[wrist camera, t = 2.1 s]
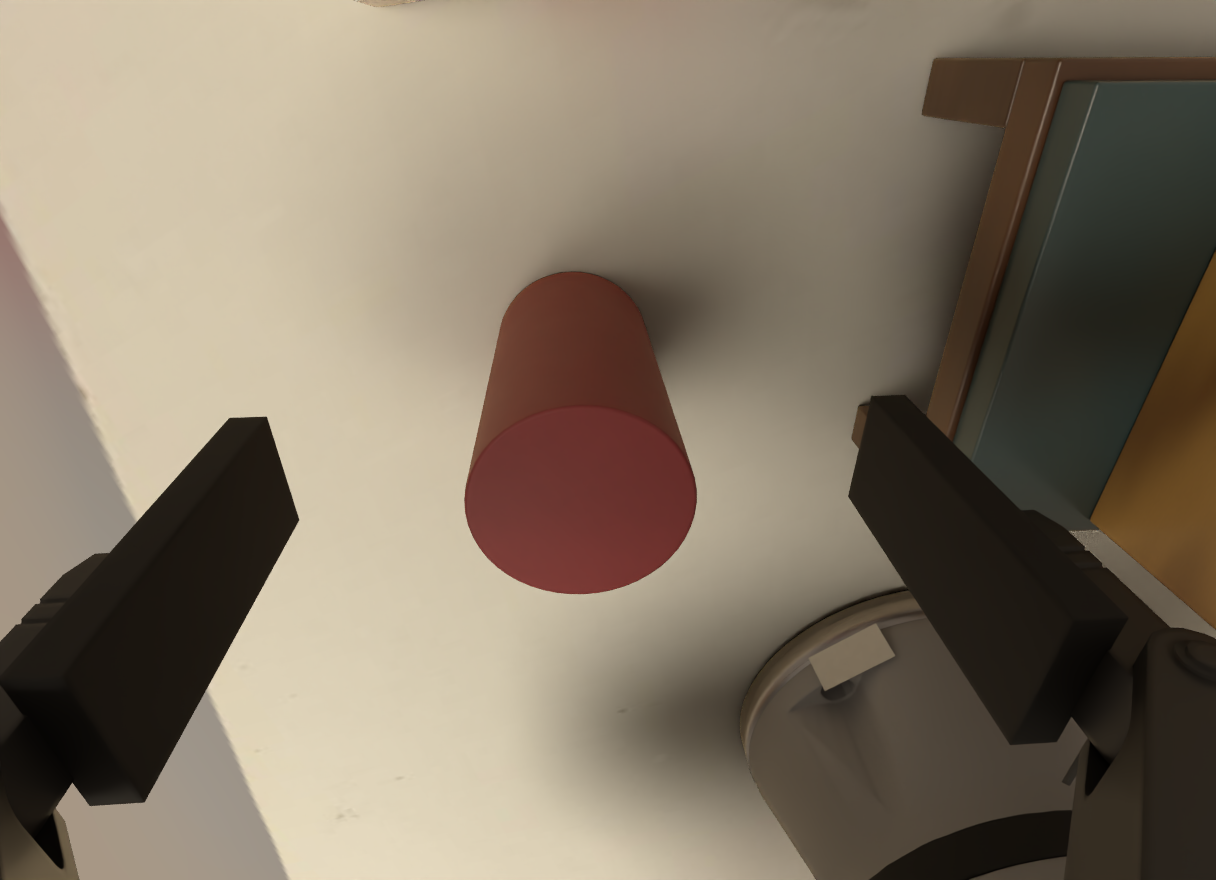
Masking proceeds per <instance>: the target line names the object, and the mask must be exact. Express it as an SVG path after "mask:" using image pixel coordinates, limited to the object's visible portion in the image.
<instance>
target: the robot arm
mask: <svg viewBox="0 0 1216 880" xmlns="http://www.w3.org/2000/svg"><path fill="white" fill-rule="evenodd" d="M848 497H849V498H850V500H851V502H852V503H853V505H854V506H855V508H856V509H857V511H858V512H859V514H860V515H861V517H862V518H863V520H864V522H865V523H866V525H867V526H868V528H869V529H870V531H871V532H872V534H873V535H874V537H875V538H876V540H877V541H878V543H879V545H880V546H881V548H882V549H883V551H884V552H885V554H886V555H887V557H888V558H889V560H890V561H891V563H892V565H893V566H894V568H895V569H896V571H897V572H898V574H899V575H900V577H901V578H902V580H903V581H904V583H905V585H906V586H907V588H908V589H909V591H904V592H898V593H894V594H890V595H885V596H881V597H878V598H875V599H871V600H868V601H865V602H862V603H860V604H857V605H854V606H852V607H849V608H847V609H844V610H842V611H840V612H838V613H835V614H833V615H831V616H829V617H828V618H826V619H824V620H822V621H820V622H818V623H816V624H815V625H813V626H812V627H810V628H808V629H807V630H805V631H804V632H802V633H801V634H799V635H798V636H797V637H795V638H794V639H793V640H791V641H790V642H789V643H788V644H786V645H785V646H784V647H783V648H782V649H781V650H779V651H778V652H777V653H776V654H775V655H774V656H773V657H772V658H771V659H770V660H769V661H768V662H767V664H766V665H765V666H764V667H763V669H762V670H761V671H760V672H759V674H758V675H757V677H756V678H755V680H754V681H753V683H752V684H751V686H750V688H749V690H748V692H747V694H746V697H745V699H744V702H743V705H742V710H741V714H740V735H741V739H742V744H743V747H744V751H745V755H746V758H747V762H748V766H749V770H750V773H751V775H752V777H753V780H754V782H755V783H756V785H757V787H758V789H759V791H760V793H761V795H762V797H763V798H764V800H765V801H766V803H767V805H768V806H769V808H770V809H771V811H772V812H773V814H774V815H775V817H776V818H777V820H778V822H779V823H780V825H781V826H782V828H783V829H784V831H785V832H786V834H787V835H788V837H789V839H790V840H791V842H792V843H793V845H794V846H795V848H796V849H797V851H798V852H799V854H800V856H801V857H802V859H803V860H804V862H805V863H806V865H807V866H808V868H809V869H810V871H811V873H812V874H813V876H814V877H815V879H816V880H1216V639H1215V638H1213V637H1210V636H1208V635H1206V634H1203V633H1199V632H1195V631H1192V630H1188V629H1184V628H1170V627H1169V626H1168V625H1167V624H1166V623H1165V622H1164V621H1163V620H1162V619H1161V618H1160V617H1159V616H1158V615H1156V614H1155V613H1154V612H1153V611H1152V610H1151V609H1150V608H1149V607H1148V606H1147V605H1146V604H1145V603H1144V602H1143V601H1142V600H1141V599H1139V598H1138V597H1137V596H1136V595H1135V594H1134V593H1133V592H1132V591H1131V590H1130V589H1129V588H1128V587H1127V586H1126V585H1125V584H1124V583H1123V582H1121V581H1120V580H1119V579H1118V578H1117V577H1116V576H1115V575H1114V574H1113V573H1112V572H1111V571H1110V570H1109V569H1108V568H1103V567H1102V563H1101V562H1100V561H1099V560H1098V559H1097V558H1096V557H1095V556H1094V555H1093V554H1092V553H1091V552H1090V551H1085V549H1084V548H1085V547H1084V546H1083V545H1082V544H1081V543H1080V542H1079V541H1078V540H1077V539H1076V538H1075V537H1074V536H1073V535H1072V534H1071V533H1069V532H1068V531H1067V530H1066V529H1065V528H1064V527H1063V526H1061V525H1060V524H1058V523H1056V522H1054V521H1053V520H1051V519H1049V518H1048V517H1046V516H1044V515H1042V514H1041V513H1039V512H1037V511H1036V510H1020V509H1019V508H1018V507H1017V506H1016V505H1015V504H1014V503H1013V502H1012V501H1011V500H1010V499H1009V498H1008V497H1007V496H1006V495H1005V494H1004V493H1003V492H1002V491H1001V490H1000V489H999V488H998V487H997V486H996V485H995V484H994V483H993V482H992V481H991V480H990V479H989V478H988V477H987V476H986V475H985V474H984V473H983V472H982V471H981V470H980V469H979V468H978V467H977V466H976V465H975V464H974V463H973V462H972V461H971V460H970V459H969V458H968V457H967V456H966V455H965V454H964V453H963V452H962V451H961V450H960V449H959V448H958V447H957V446H956V445H955V444H954V443H953V442H952V441H951V440H950V439H949V438H948V437H947V436H946V435H945V434H944V433H943V432H942V431H941V430H940V429H939V428H938V427H937V426H936V425H935V424H934V423H933V422H932V421H931V420H930V419H929V418H928V417H927V416H926V415H925V414H924V413H923V412H922V411H921V410H920V409H919V408H918V407H917V406H916V405H915V404H913V403H912V402H911V401H910V400H909V399H908V398H907V397H906V396H905V395H889V396H871V400H870V405H869V409H868V413H867V418H866V422H865V426H864V430H863V435H862V439H861V443H860V448H859V452H858V456H857V460H856V465H855V469H854V473H853V478H852V482H851V486H850V491H849V495H848ZM298 521H299V518H298V514H297V511H296V508H295V505H294V502H293V499H292V495H291V492H290V489H289V486H288V483H287V479H286V476H285V473H284V470H283V467H282V464H281V460H280V457H279V454H278V451H277V448H276V445H275V441H274V438H273V435H272V432H271V429H270V426H269V422H268V419H267V417H245V418H229V419H228V420H227V421H226V422H225V424H224V425H223V426H222V427H221V428H220V429H219V430H218V431H217V433H216V434H215V435H214V436H213V437H212V438H211V439H210V440H209V442H208V443H207V444H206V445H205V446H204V447H203V448H202V449H201V451H200V452H199V453H198V454H197V455H196V456H195V457H194V458H193V460H192V461H191V462H190V463H189V464H188V465H187V466H186V467H185V469H184V470H183V471H182V472H181V473H180V474H179V475H178V476H177V478H176V479H175V480H174V481H173V482H172V483H171V484H170V485H169V487H168V488H167V489H166V490H165V491H164V492H163V493H162V494H161V496H160V497H159V498H158V499H157V500H156V501H155V502H154V503H153V505H152V506H151V507H150V508H149V509H148V510H147V511H146V512H145V514H144V515H143V516H142V517H141V518H140V519H139V520H138V521H137V523H136V524H135V525H134V526H133V527H132V528H131V529H130V530H129V532H128V533H127V534H126V535H125V536H124V537H123V539H121V541H120V542H119V543H118V544H117V545H116V546H115V547H114V548H113V550H112V551H111V552H110V553H102V554H94V555H92V556H91V557H89V558H88V559H86V560H85V561H83V562H82V563H81V564H79V565H78V566H76V567H74V568H73V569H71V570H70V571H68V572H67V573H65V574H64V575H62V577H61V578H60V579H59V580H58V581H57V582H56V583H55V584H54V585H53V586H52V587H51V588H50V589H49V590H48V591H47V593H46V594H45V595H44V596H43V597H42V598H41V599H40V604H35V605H34V606H33V607H32V609H31V610H30V611H29V612H28V613H27V614H26V615H25V616H24V617H23V618H22V623H21V624H18V625H15V627H14V628H13V629H12V630H11V631H10V632H9V633H8V634H7V635H6V636H5V637H4V638H3V639H2V640H1V642H0V880H79V876H78V872H77V868H76V864H75V861H74V856H73V852H72V848H71V844H70V840H69V836H68V831H67V827H66V823H65V821H64V819H63V818H62V816H61V815H60V814H59V812H58V811H57V810H56V806H57V805H58V803H59V801H60V800H61V799H62V797H63V796H64V794H65V793H66V791H67V790H68V788H69V787H70V785H71V784H72V783H73V784H74V785H75V787H76V788H77V789H78V791H79V792H80V793H81V795H82V796H83V797H84V799H85V800H86V802H87V803H88V804H89V805H90V806H97V805H111V804H126V803H127V804H128V803H143V802H145V801H146V799H147V797H148V795H149V793H150V791H151V789H152V788H153V786H154V784H155V782H156V780H157V779H158V777H159V775H160V773H161V771H162V770H163V768H164V766H165V764H166V762H167V760H168V759H169V757H170V755H171V753H172V751H173V749H174V748H175V746H176V744H177V742H178V740H179V739H180V737H181V735H182V733H183V731H184V729H185V727H186V726H187V724H188V722H189V720H190V718H191V717H192V715H193V713H194V711H195V709H196V707H197V705H198V704H199V702H200V700H201V698H202V696H203V695H204V693H205V691H206V689H207V687H208V686H209V684H210V682H211V680H212V678H213V676H214V675H215V673H216V671H217V669H218V667H219V666H220V664H221V662H222V660H223V658H224V656H225V655H226V653H227V651H228V649H229V647H230V645H231V644H232V642H233V640H234V638H235V636H236V634H237V633H238V631H239V629H240V627H241V625H242V624H243V622H244V620H245V618H246V616H247V614H248V613H249V611H250V609H251V607H252V605H253V603H254V602H255V600H256V598H257V596H258V594H259V593H260V591H261V589H262V587H263V585H264V583H265V582H266V580H267V578H268V576H269V574H270V572H271V571H272V569H273V567H274V565H275V563H276V562H277V560H278V558H279V556H280V554H281V552H282V551H283V549H284V547H285V545H286V543H287V541H288V540H289V538H290V536H291V534H292V532H293V530H294V529H295V527H296V525H297V523H298Z"/></svg>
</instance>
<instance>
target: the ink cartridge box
mask: <svg viewBox="0 0 1216 880" xmlns="http://www.w3.org/2000/svg"><path fill="white" fill-rule="evenodd" d="M354 1H357V2H361V3H364V4H367V5H370V6H374V7H383V6H390V5H397V4H403V3H410V2H417V1H423V0H354Z"/></svg>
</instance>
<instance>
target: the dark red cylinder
mask: <svg viewBox="0 0 1216 880" xmlns="http://www.w3.org/2000/svg"><path fill="white" fill-rule="evenodd" d="M464 501H465V514H466V518H467V522H468V526H469V528H470V531H471V533H472V536H473V538H474V539H475V541H476V543H477V544H478V546H479V548H480V549H481V550H482V552H483V553H484V554H485V555H486V557H487V558H488V559H489V560H490V561H491V562H492V563H493V564H495V565H496V566H497V567H498V568H499V569H501V570H502V571H503V572H505V573H506V574H508V575H509V576H511V577H513V578H515V579H516V580H518V581H520V582H523V583H525V584H527V585H530V586H532V587H536V588H539V589H542V590H546V591H551V592H556V593H565V594H590V593H599V592H604V591H609V590H614V589H617V588H620V587H623V586H626V585H629V584H631V583H633V582H636V581H638V580H640V579H642V578H644V577H645V576H647V575H649V574H650V573H652V572H653V571H655V570H656V569H658V568H659V567H660V566H662V565H663V564H664V563H665V562H666V561H667V560H668V559H669V558H670V557H671V556H672V555H673V554H674V553H675V552H676V551H677V549H678V548H679V547H680V545H681V544H682V542H683V541H684V539H685V537H686V535H687V533H688V531H689V529H690V527H691V524H692V521H693V518H694V515H695V510H696V503H697V489H696V483H695V477H694V474H693V471H692V468H691V465H690V462H689V459H688V456H687V453H686V450H685V446H684V443H683V440H682V437H681V434H680V431H679V428H678V425H677V422H676V419H675V416H674V413H673V410H672V407H671V404H670V401H669V397H668V394H667V391H666V388H665V385H664V382H663V379H662V376H661V373H660V370H659V367H658V364H657V361H656V358H655V355H654V351H653V348H652V345H651V342H650V339H649V336H648V333H647V330H646V327H645V324H644V321H643V318H642V315H641V313H640V311H639V309H638V307H637V306H636V305H635V303H634V302H633V300H632V299H631V298H630V297H629V296H628V295H627V294H626V293H625V292H624V291H623V290H622V289H621V288H620V287H618V286H617V285H615V284H614V283H612V282H610V281H608V280H606V279H604V278H602V277H599V276H596V275H593V274H588V273H582V272H564V273H558V274H553V275H550V276H547V277H544V278H541V279H539V280H537V281H536V282H534V283H532V284H530V285H529V286H528V287H526V288H525V289H524V290H523V291H521V292H520V293H519V294H518V295H517V296H516V298H515V299H514V300H513V301H512V303H511V304H510V306H509V307H508V309H507V311H506V313H505V315H504V317H503V320H502V323H501V327H500V331H499V336H498V340H497V345H496V350H495V354H494V359H493V363H492V368H491V373H490V377H489V382H488V386H487V391H486V396H485V400H484V405H483V410H482V414H481V419H480V423H479V428H478V433H477V437H476V442H475V446H474V451H473V456H472V460H471V465H470V469H469V474H468V479H467V483H466V489H465V499H464Z"/></svg>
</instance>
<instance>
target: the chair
mask: <svg viewBox="0 0 1216 880" xmlns="http://www.w3.org/2000/svg"><path fill="white" fill-rule="evenodd" d="M922 115H923V116H928V117H935V118H941V119H948V120H954V121H961V122H967V123H974V124H981V125H987V126H994V127H1000V128H1006V130H1005V134H1004V137H1003V141H1002V144H1001V148H1000V152H999V155H998V159H997V162H996V166H995V169H994V173H993V177H992V180H991V184H990V187H989V191H988V195H987V198H986V202H985V205H984V209H983V213H982V216H981V220H980V223H979V227H978V231H977V234H976V238H975V241H974V245H973V248H972V252H971V256H970V259H969V263H968V266H967V270H966V274H965V277H964V281H963V284H962V288H961V292H960V295H959V299H958V302H957V306H956V310H955V313H954V317H953V320H952V324H951V328H950V331H949V335H948V338H947V342H946V345H945V349H944V353H943V356H942V360H941V363H940V367H939V371H938V374H937V378H936V381H935V385H934V389H933V392H932V396H931V399H930V403H929V407H928V410H927V414H926V416H927V417H928V418H929V419H930V420H931V421H932V422H933V423H934V424H935V425H936V426H937V427H938V428H939V429H940V430H941V431H942V432H943V433H944V434H945V435H946V436H947V437H948V438H949V439H950V440H951V441H952V442H953V443H954V444H955V445H956V446H957V447H958V448H959V449H960V450H961V451H962V452H963V453H964V454H965V455H966V456H967V457H968V458H969V459H970V460H971V461H972V462H973V463H974V464H975V465H976V466H977V467H978V468H979V469H980V470H981V471H982V472H983V473H984V474H985V475H986V476H987V477H988V478H989V479H990V480H991V481H992V482H993V483H994V484H995V485H996V486H997V487H998V488H999V489H1000V490H1001V491H1002V492H1003V493H1004V494H1005V495H1006V496H1007V497H1008V498H1009V499H1010V500H1011V501H1012V502H1013V503H1014V504H1015V505H1016V506H1017V507H1018V508H1019V509H1020V510H1036V511H1037V512H1039V513H1041V514H1042V515H1044V516H1046V517H1048V518H1049V519H1051V520H1053V521H1054V522H1056V523H1058V524H1060V525H1061V526H1063V527H1064V528H1065V529H1066V530H1067V531H1083V530H1101V531H1102V532H1103V533H1105V534H1106V535H1107V536H1108V537H1109V538H1110V539H1111V540H1113V541H1114V542H1115V543H1116V544H1117V545H1118V546H1120V547H1121V548H1122V549H1123V550H1124V551H1125V552H1126V553H1128V554H1129V555H1130V556H1131V557H1132V558H1133V559H1135V560H1136V561H1137V562H1138V563H1139V564H1140V565H1141V566H1143V567H1144V568H1145V569H1146V570H1147V571H1148V572H1149V573H1151V574H1152V575H1153V576H1154V577H1155V578H1156V579H1158V580H1159V581H1160V582H1161V583H1162V584H1163V585H1164V586H1166V587H1167V588H1168V589H1169V590H1170V591H1171V592H1173V593H1174V594H1175V595H1176V596H1177V597H1178V598H1179V599H1181V600H1182V601H1183V602H1184V603H1185V604H1186V605H1188V606H1189V607H1190V608H1191V609H1192V610H1193V611H1194V612H1196V613H1197V614H1198V615H1199V616H1200V617H1201V618H1203V619H1204V620H1205V621H1206V622H1207V623H1208V624H1209V625H1211V626H1212V627H1213V628H1214V629H1215V630H1216V57H1093V58H936V59H934V61H933V64H932V69H931V73H930V78H929V83H928V87H927V92H926V96H925V101H924V106H923V110H922ZM868 409H869V406H859V407H858V411H857V415H856V420H855V424H854V429H853V434H852V440H853V442H854V443H855V444H856V445H857V447H858V448H860V443H861V439H862V435H863V430H864V426H865V422H866V418H867V413H868Z"/></svg>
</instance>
